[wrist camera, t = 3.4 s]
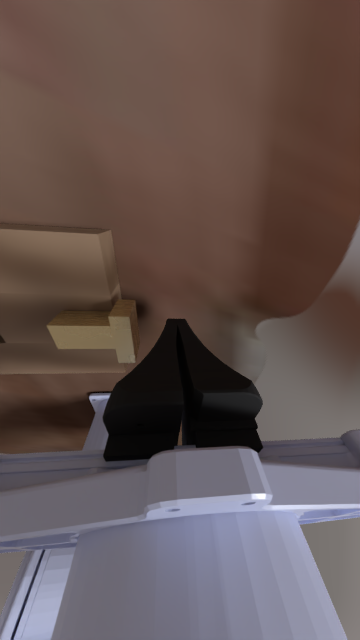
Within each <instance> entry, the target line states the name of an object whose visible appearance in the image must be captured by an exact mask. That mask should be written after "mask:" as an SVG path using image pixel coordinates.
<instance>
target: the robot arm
mask: <svg viewBox="0 0 360 640" xmlns="http://www.w3.org/2000/svg"><path fill="white" fill-rule="evenodd" d="M89 399H90V401H91V404H92V406H93V408H94V410H95V412H96V413H95V416H94V419H93V422H92V425H91V427H90V430H89V433H88V436H87V439H86V442H85V444H84V447H83V450H82V451H65V452H45V453H25V454H6V455H0V553H8V552H21V551H26V553H25V555H24V558H23V560H22V563H21V565H20V568H19V570H18V572H17V575H16V577H15V580H14V582H13V585H12V588H11V590H10V592H9V595H8V597H7V600H6V602H5V605H4V608H3V610H2V613H1V616H0V640H347V637H346V635H345V633H344V630H343V628H342V625H341V623H340V621H339V618H338V616H337V613H336V611H335V609H334V606H333V604H332V602H331V599H330V597H329V595H328V592H327V590H326V587H325V585H324V582H323V580H322V578H321V575H320V573H319V570H318V568H317V566H316V564H315V561H314V559H313V556H312V554H311V551H310V549H309V546H308V544H307V542H306V539H305V537H304V535H303V532H302V530H301V527H300V524H307V523H316V522H323V521H332V520H340V519H348V518H356V517H360V430H359V429H358V430H351V431H348V432H346V433H344V434H343V435H342V436H341V437H340V438H322V439H321V438H320V439H301V440H281V441H261V440H260V438H259V435H258V433H257V431H256V429H257V428H258V426H257V423H256V421H255V417H256V416H257V414H258V413H259V411H260V409H261V407H262V405H263V403H262V399H261V397H260V394H259V392H258V391H257V389H256V387H255V386H254V384H253V382H252V381H251V380H249V379H248V378H246V377H244V376H243V375H241V374H239V373H238V372H236V371H234V370H233V369H231V368H230V367H228V366H227V365H226V364H224V363H223V362H222V361H220V360H219V359H218V358H217V357H216V356H214V355H213V354H212V353H211V352H210V351H209V350H208V349H207V348H206V347H205V346H204V345H203V344H202V342H201V341H200V340H199V339H198V338H197V336H196V335H195V334H194V332H193V331H192V329H191V328H190V326H189V325H188V323H187V321H186V320H185V319H167V321H166V325H165V327H164V330H163V332H162V334H161V336H160V338H159V339H158V341H157V342H156V344H155V346H154V347H153V348H152V350H151V351H150V352H149V354H148V355H147V356H146V357H145V358H144V359H143V360H142V361H141V363H140V364H138V365H137V366H136V367H135V368H134V369H133V370H132V371H131V372H130V373H129V374H128V375H126V376H125V377H124V378H123V379H121V380H120V381H119V382H118V383H116V385H115V387H114V389H113V390H112V392H111V393H92V394H90V396H89ZM181 420H182V446H177V444H178V436H179V432H180V426H181Z"/></svg>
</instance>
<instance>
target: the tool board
mask: <svg viewBox="0 0 360 640" xmlns="http://www.w3.org/2000/svg"><path fill="white" fill-rule="evenodd" d="M118 299H122V297H121V291H120V284H119V278H118V272H117V265H116V259H115V253H114V246H113V240H112V233H111V230H105V229H89V228H72V227H55V226H38V225H21V224H4V223H0V374H48V373H124V372H126V369H127V365H128V363H119V362H118V358H117V353H116V349H58V348H57V346H56V344H55V342H54V340H53V338H52V336H51V334H50V332H49V330H48V328H47V326H46V325H47V324H49V323H50V322H51V321H52V320H53V319H54V318H55V317H56V316H57V315H58V314H59V313H60V312H61V311H112V309H113V307H114V305H115V303H116V302H117V300H118Z"/></svg>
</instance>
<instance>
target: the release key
mask: <svg viewBox="0 0 360 640" xmlns="http://www.w3.org/2000/svg"><path fill="white" fill-rule="evenodd" d="M46 326H47V328H48V330H49V332H50V334H51V336H52V338H53V340H54V342H55V344H56V346H57V348H58V349H116V353H117V358H118V362H119V363H136V358H137V354H138V349H139V344H140V339H139V330H138V320H137V311H136V301H135V300H124V299H118V300H117V302H116V303H115V305H114V307H113V309H112V311H61V312H60V313H59V314H58V315H57V316H56V317H55V318H54V319H53V320H52V321H51V322H50V323H49V324H47V325H46Z"/></svg>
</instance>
